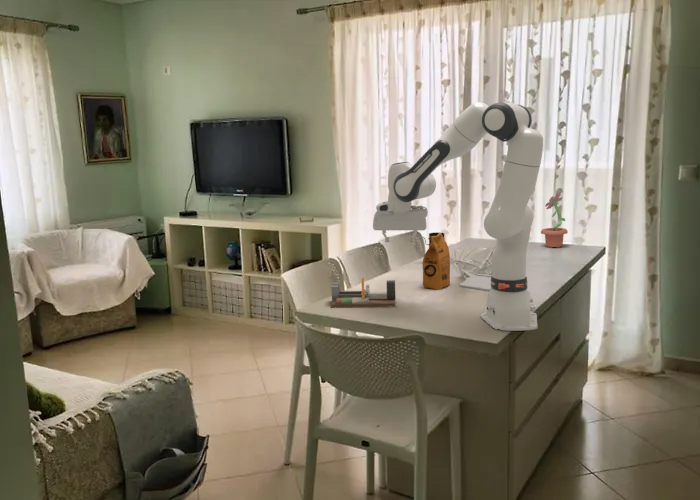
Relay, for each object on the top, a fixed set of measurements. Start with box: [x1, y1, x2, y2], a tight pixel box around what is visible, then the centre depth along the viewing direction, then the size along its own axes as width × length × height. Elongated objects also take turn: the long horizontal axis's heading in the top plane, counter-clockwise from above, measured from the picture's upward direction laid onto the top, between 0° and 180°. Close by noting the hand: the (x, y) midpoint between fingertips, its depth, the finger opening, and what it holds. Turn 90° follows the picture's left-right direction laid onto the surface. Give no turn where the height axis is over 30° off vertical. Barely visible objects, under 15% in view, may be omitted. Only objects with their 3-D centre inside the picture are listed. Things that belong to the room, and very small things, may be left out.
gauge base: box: [330, 281, 396, 309], centre depth 234 cm, size 14×24×7 cm, turn 85°
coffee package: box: [422, 232, 451, 291], centre depth 254 cm, size 10×12×22 cm
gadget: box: [458, 273, 492, 292], centre depth 256 cm, size 23×15×4 cm, turn 137°
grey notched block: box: [361, 279, 396, 300], centre depth 232 cm, size 6×13×7 cm, turn 85°
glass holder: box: [416, 232, 446, 256], centre depth 299 cm, size 9×14×15 cm, turn 81°
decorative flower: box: [540, 192, 568, 248], centre depth 330 cm, size 15×14×30 cm
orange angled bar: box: [361, 277, 366, 298], centre depth 228 cm, size 3×1×8 cm, turn 175°
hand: (399, 241), depth 230 cm, fingers open, 8 cm apart
